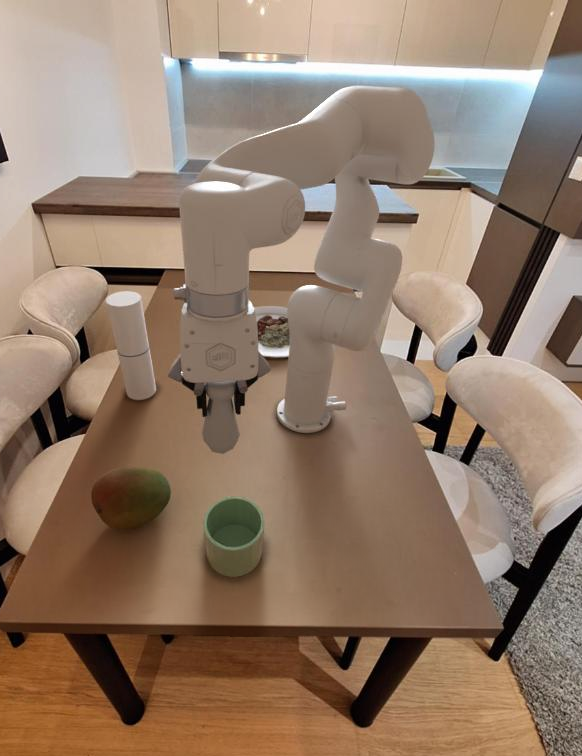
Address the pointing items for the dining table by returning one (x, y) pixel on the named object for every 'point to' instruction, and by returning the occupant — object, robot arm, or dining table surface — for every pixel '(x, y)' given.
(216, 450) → the salt shaker
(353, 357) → the dining table surface
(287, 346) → the plated food
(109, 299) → the cylindrical container
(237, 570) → the cup
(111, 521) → the fruit
